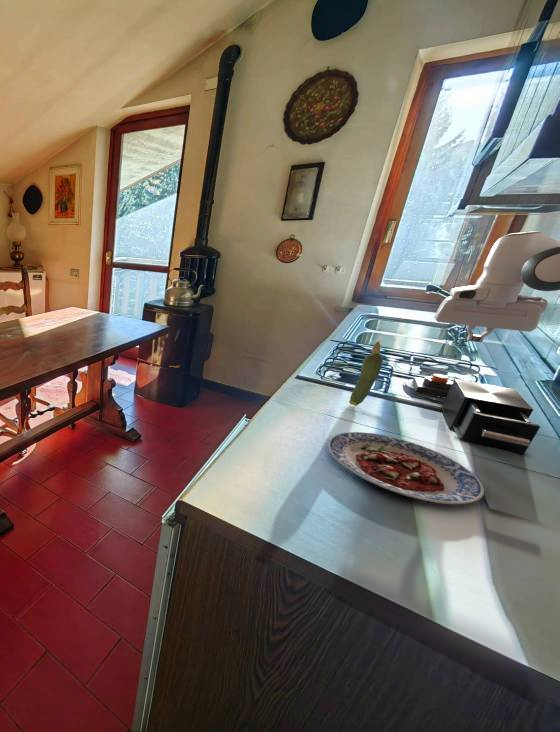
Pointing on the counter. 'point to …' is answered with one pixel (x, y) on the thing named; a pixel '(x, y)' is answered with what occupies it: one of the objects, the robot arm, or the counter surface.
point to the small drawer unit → (496, 427)
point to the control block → (431, 386)
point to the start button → (440, 378)
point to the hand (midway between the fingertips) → (473, 341)
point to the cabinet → (479, 399)
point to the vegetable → (367, 375)
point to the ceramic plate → (406, 468)
